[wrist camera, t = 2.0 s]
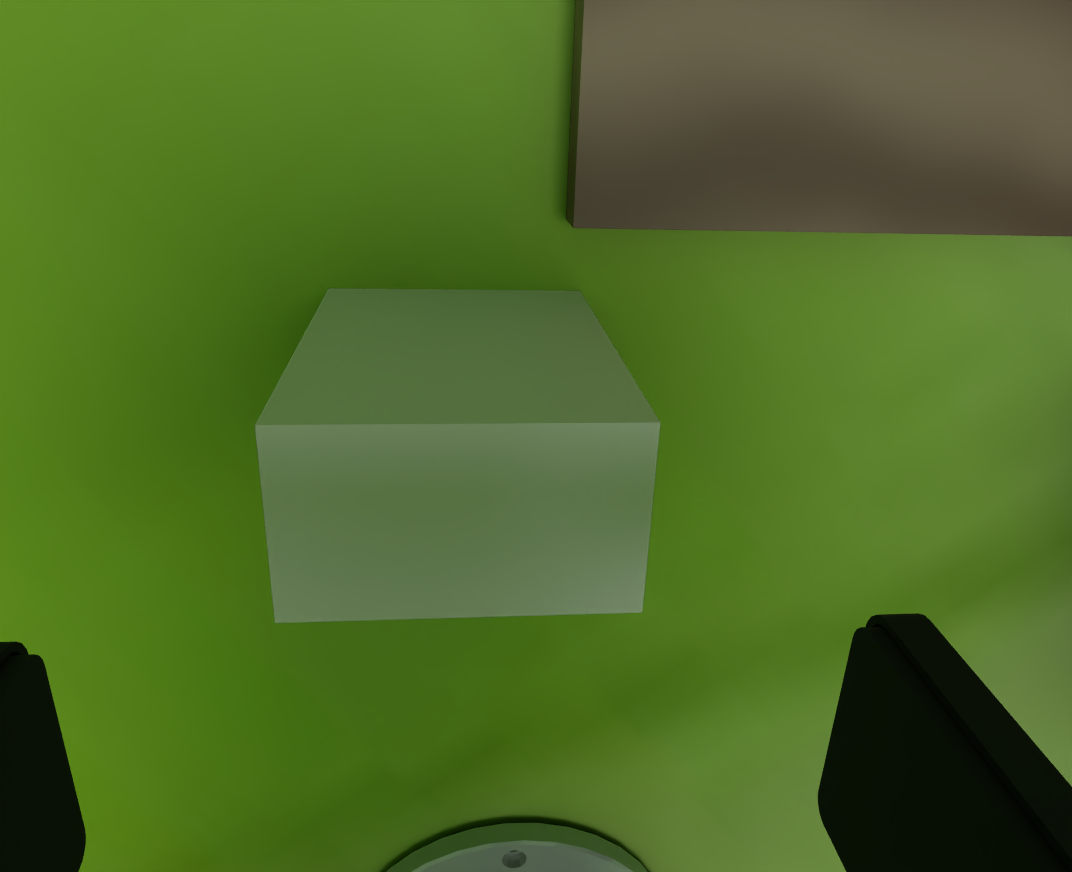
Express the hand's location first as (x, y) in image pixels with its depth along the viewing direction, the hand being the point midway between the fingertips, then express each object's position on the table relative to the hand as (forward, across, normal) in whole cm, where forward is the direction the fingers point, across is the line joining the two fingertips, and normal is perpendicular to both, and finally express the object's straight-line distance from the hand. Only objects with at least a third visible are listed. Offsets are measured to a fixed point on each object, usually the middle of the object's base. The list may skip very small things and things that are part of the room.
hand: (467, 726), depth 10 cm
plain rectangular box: (+16, 0, +1) cm, 16 cm away
